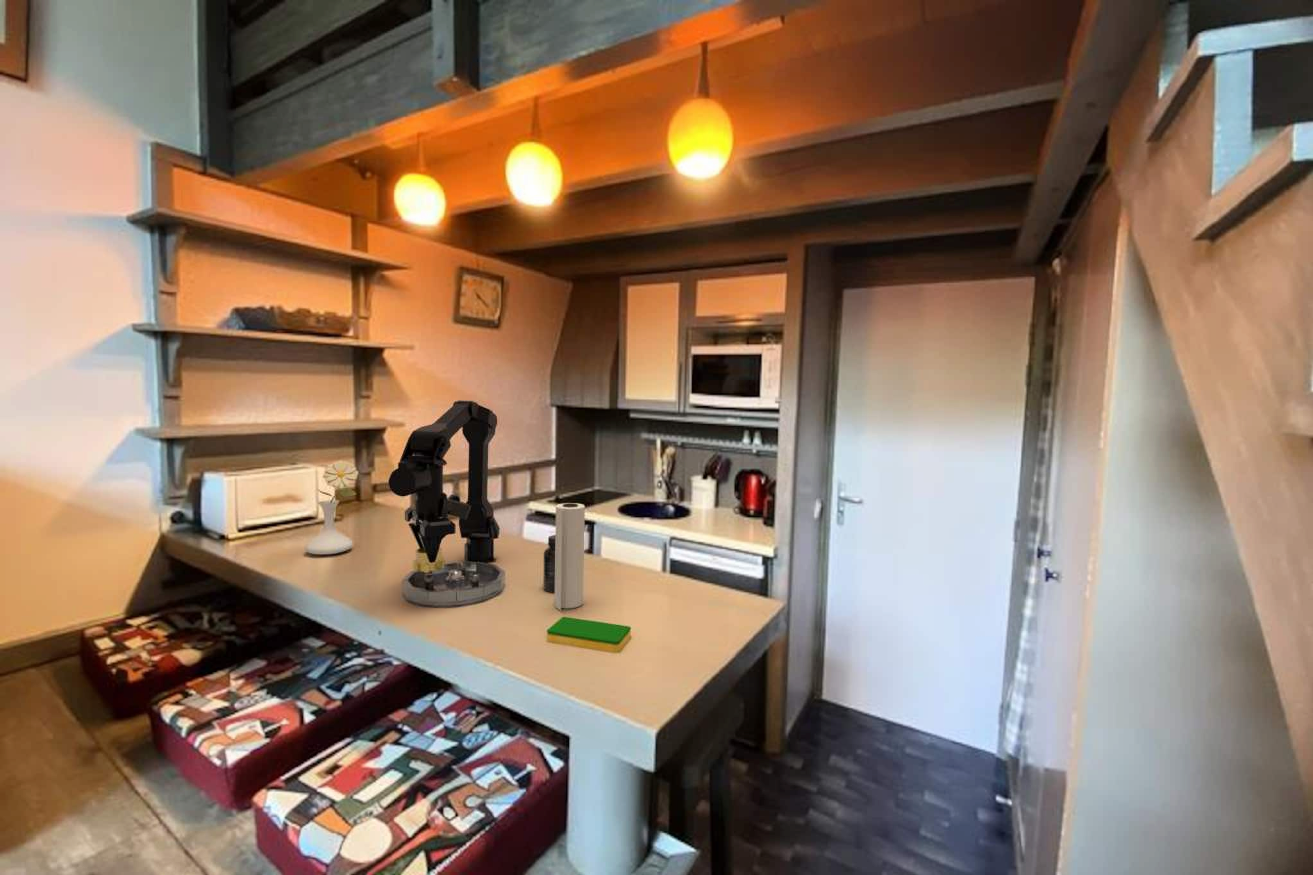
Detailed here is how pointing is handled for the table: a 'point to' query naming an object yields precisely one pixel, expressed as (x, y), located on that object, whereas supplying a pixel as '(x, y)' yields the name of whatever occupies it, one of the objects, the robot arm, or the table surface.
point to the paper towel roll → (569, 555)
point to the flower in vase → (333, 510)
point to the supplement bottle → (549, 565)
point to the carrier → (454, 585)
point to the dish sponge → (589, 634)
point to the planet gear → (424, 564)
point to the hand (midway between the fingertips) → (429, 559)
